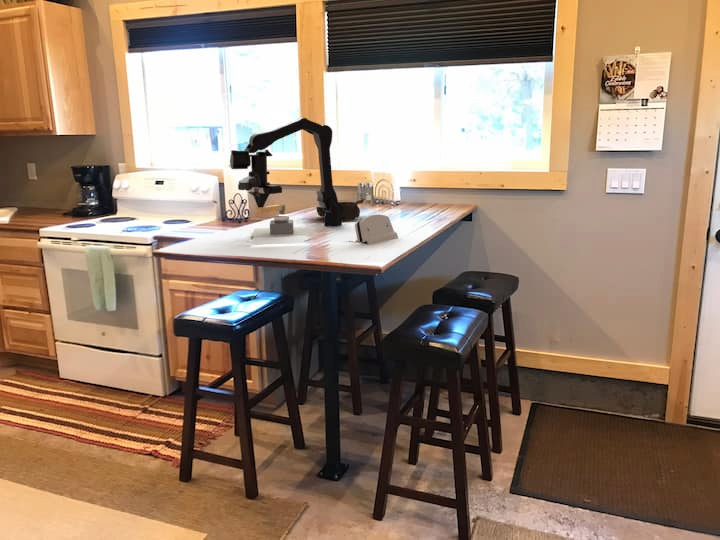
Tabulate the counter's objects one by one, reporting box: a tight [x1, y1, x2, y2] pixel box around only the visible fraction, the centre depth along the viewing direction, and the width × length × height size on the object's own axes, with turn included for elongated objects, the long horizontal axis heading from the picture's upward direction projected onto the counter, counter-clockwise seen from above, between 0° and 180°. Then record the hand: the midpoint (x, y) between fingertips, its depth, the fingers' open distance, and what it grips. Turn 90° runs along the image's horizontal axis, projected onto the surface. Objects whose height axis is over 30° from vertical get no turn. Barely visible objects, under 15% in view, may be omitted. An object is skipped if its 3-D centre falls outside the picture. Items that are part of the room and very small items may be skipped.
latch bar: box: [256, 203, 286, 214], centre depth 226 cm, size 12×3×2 cm, turn 137°
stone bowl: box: [309, 197, 366, 222], centre depth 260 cm, size 25×25×9 cm
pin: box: [273, 213, 290, 223], centre depth 222 cm, size 6×6×6 cm
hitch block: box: [250, 210, 318, 240], centre depth 224 cm, size 24×17×8 cm
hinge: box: [354, 214, 399, 245], centre depth 210 cm, size 17×5×10 cm, turn 139°
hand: (260, 210), depth 225 cm, fingers closed
